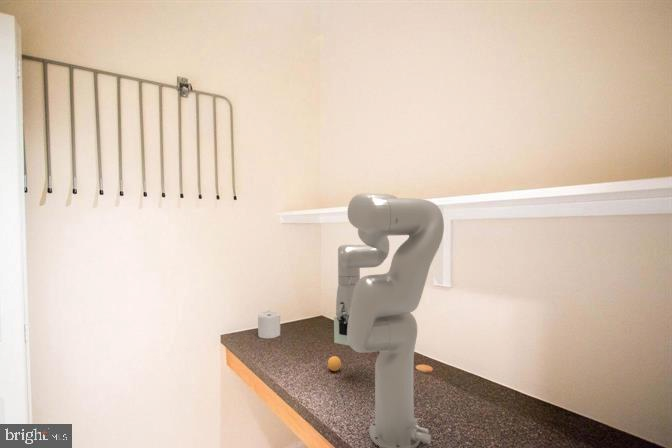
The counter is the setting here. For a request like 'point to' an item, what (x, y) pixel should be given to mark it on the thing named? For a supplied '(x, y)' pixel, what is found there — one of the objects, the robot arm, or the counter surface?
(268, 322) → the toilet tissue
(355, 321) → the robot arm
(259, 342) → the counter surface
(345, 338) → the pale sage cube
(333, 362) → the ball
